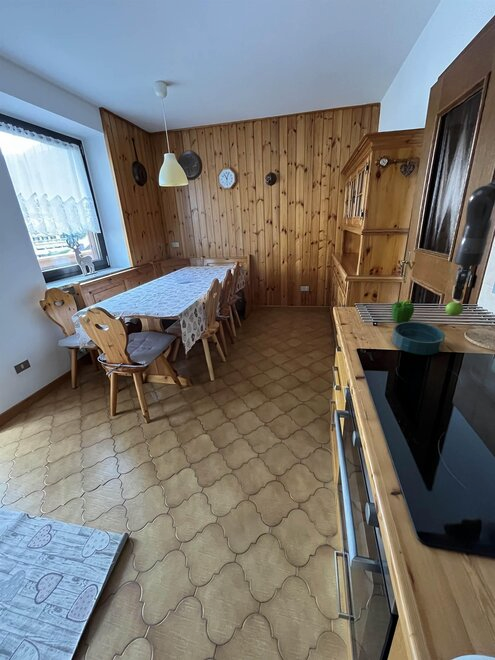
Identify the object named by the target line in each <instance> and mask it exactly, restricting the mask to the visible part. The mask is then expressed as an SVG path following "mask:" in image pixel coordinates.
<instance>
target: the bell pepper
mask: <svg viewBox="0 0 495 660" xmlns="http://www.w3.org/2000/svg"><path fill="white" fill-rule="evenodd" d="M414 312H415V306H414V304H413V303H412V300H411V299H406V300H404V301H403V300H401V301H399V302H397V301H395V302H394V303H393V305H392V306H391V317H392V320H393V321H394V322H395V323H396V324H399V323H403V322H410V320H411V318H412V316H413V314H414Z"/></svg>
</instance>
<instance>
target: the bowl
mask: <svg viewBox="0 0 495 660" xmlns="http://www.w3.org/2000/svg"><path fill="white" fill-rule="evenodd" d="M445 338H446V334H445V333H444V331H443V330H441V329H440V328H438V327H436V326H434V325H432V324H428V323H424V322H419V321H408V322H403V323H396V325H394V327H393V331H392V335H391V343H392V344H393V345H394V346H395V347H396V348H398V349H399V350H402V351H404V352H406V353H409V354H415V355H419V356H420V355H421V356H432V355H435V354H439V353H440V352H441V351H442V348H443V345H444V342H445Z"/></svg>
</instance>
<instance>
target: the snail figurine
mask: <svg viewBox="0 0 495 660" xmlns="http://www.w3.org/2000/svg"><path fill="white" fill-rule="evenodd" d="M455 286H456V282H455V281H454V282H453V286H452V293H451V294H452V295H451V297H452V301H450V302H449V303H447V305H446V306H445V312H446V313H447V315H449V316H451V317H456V316H460V315H461V314H462V313H463V312H464V305H463V304H462V300H463V298H464V290H463V291H462V294H461V298H460V299H459V300H457V299H453V295H454V292H455Z"/></svg>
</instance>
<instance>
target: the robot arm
mask: <svg viewBox="0 0 495 660" xmlns="http://www.w3.org/2000/svg"><path fill="white" fill-rule="evenodd" d="M466 205H467V206H466V214H465V224H464V226H463V230H462V234H461V237H460V238H459V239H460V240H459V242H458V244H457V248H456V253H455V256H454V261H453V263H454V264H455V265H458V266H460V267H458V268H457V271H456V278H455V281H454V282H456V283H455V285H456V286H455V292H454V295H453V298H452V300H453V299H457V300H459V299H460V298H461V294H462V291H463V292H464V290H465V285H466V284H468V282H469V278H470V276H471V274H472V270H473V269H472V268H471V267H477V266H479V265H481V263H482V260H483V257H484V253H485V250H486V247H487V243H488V237H489V235H490V230H491V227H492V223H493V221H492V219H491V217H492V214H493V211H494V208H495V179H493V180H492V181H491V182H489V183H488V184H486V185H481V186H479V187H477V188H476V189H475V190H473V191H472V192H471V194H470V196H469V198H468V202H467V204H466Z"/></svg>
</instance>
